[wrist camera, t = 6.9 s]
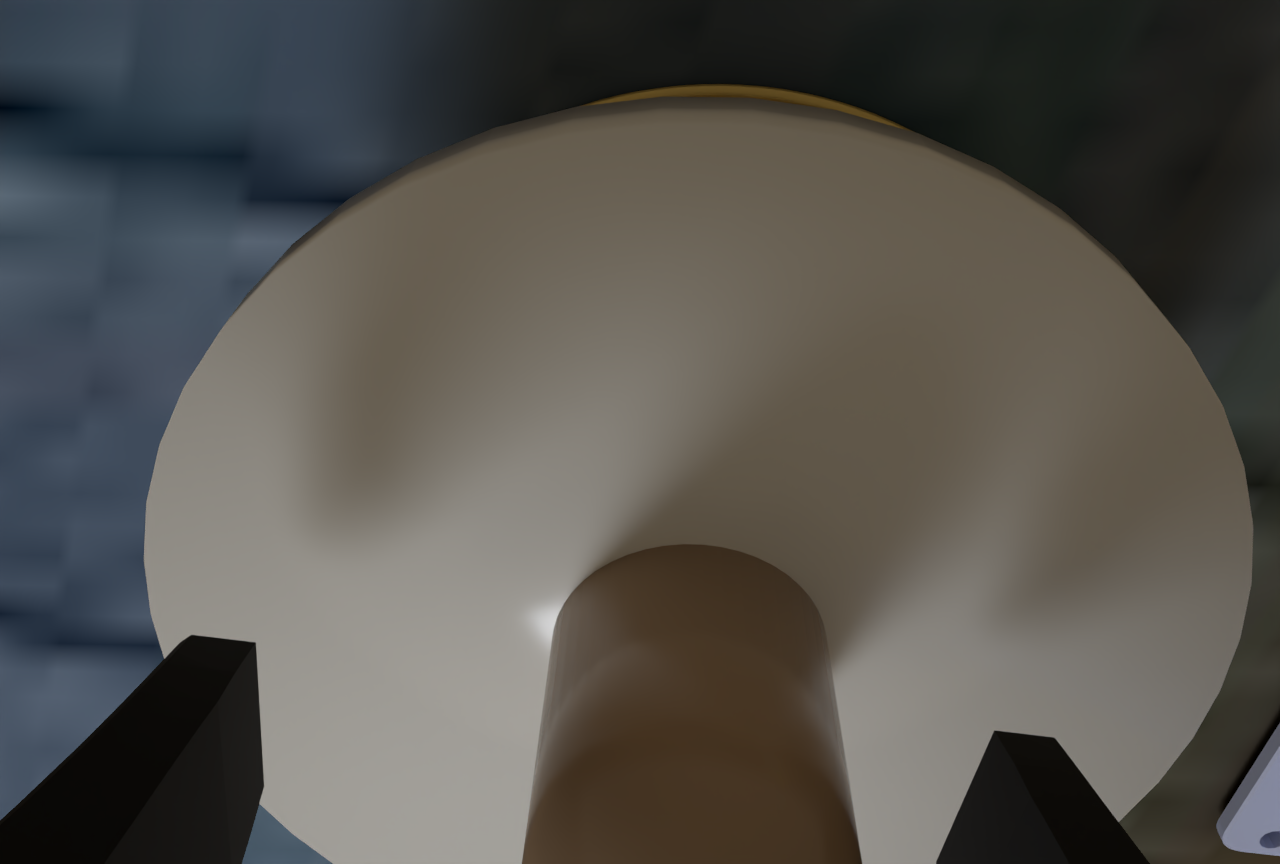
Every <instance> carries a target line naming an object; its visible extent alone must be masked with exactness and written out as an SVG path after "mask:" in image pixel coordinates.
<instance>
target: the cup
mask: <svg viewBox="0 0 1280 864" xmlns="http://www.w3.org/2000/svg"><path fill="white" fill-rule="evenodd" d="M655 97H737V98H756V99H763V100H770V101H777V102H784V103H791V104H798V105H805V106H811V107H818V108H825V109H832V110H838V111H841V112H845V113H848V114H852V115H855V116H859V117H862V118H866V119H870V120H873V121H877V122H880V123H884V124H887V125H891V126H894V127H898V128H901V129H905V130H908V131H911V130H909V129H907V128H905V127H903V126H901V125H899V124H897V123H895V122H893V121H891V120H888V119H886V118H884V117H881V116H879V115H877V114H874V113H872V112H869V111H866V110H864V109H861V108H858V107H855V106H852V105H849V104H846V103H843V102H839V101H836V100H832V99H829V98H825V97H821V96H817V95H812V94H808V93H803V92H798V91H792V90H786V89H780V88H773V87H764V86H753V85H738V84H696V85H681V86H670V87H662V88H654V89H648V90H642V91H636V92H631V93H626V94H622V95H617V96H613V97H609V98H605V99H601V100H598V101H594V102H591V103H588V104H585V105H581V106H587V105H596V104H604V103H612V102H621V101H629V100H638V99H646V98H655ZM578 107H579V106H578ZM912 132H913V131H912Z"/></svg>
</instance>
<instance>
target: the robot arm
mask: <svg viewBox="0 0 1280 864" xmlns="http://www.w3.org/2000/svg"><path fill="white" fill-rule="evenodd" d="M263 789H264V775H263V758H262V740H261V723H260V705H259V688H258V670H257V653H256V642H248V641H240V640H231V639H223V638H215V637H206V636H198V635H190V636H189V637H187V638H186V639H184V640H183V641H181V642H180V643H179V644H178V645H177V646H176V647H175V648H174V649H173V650H172V651H171V652H170V653H169V655H168V656H167V657H166V658H165V659H164V660H163V661H162V662H161V663H160V664H159V665H158V666H157V667H156V668H155V669H154V670H153V671H152V673H151V674H150V675H149V676H148V677H147V678H146V679H145V680H144V681H143V682H142V683H141V684H140V685H139V686H138V687H137V688H136V689H135V690H134V691H133V692H132V693H131V694H130V695H129V696H128V698H127V699H126V700H125V701H124V702H123V703H122V704H121V705H120V706H119V707H118V708H117V709H116V710H115V711H114V712H113V713H112V714H111V715H110V716H109V717H108V718H107V719H106V720H105V721H104V722H103V723H102V724H101V725H100V726H99V727H98V728H97V729H96V730H95V731H94V732H93V733H92V734H91V735H90V736H89V737H88V738H87V739H86V740H85V741H84V742H83V743H82V744H81V745H80V746H79V747H78V748H77V749H76V750H75V751H74V752H73V753H71V754H70V755H69V756H68V757H67V758H66V759H65V760H64V761H63V762H62V763H61V764H60V765H59V766H58V767H57V768H56V769H55V770H54V771H53V772H51V773H50V774H49V775H48V776H47V777H46V778H45V779H44V780H43V781H42V782H41V783H40V784H39V785H38V786H37V787H36V788H35V789H34V790H33V791H31V792H30V793H29V794H28V795H27V796H26V797H25V798H24V799H23V800H22V801H21V802H20V803H19V804H18V805H17V806H16V807H15V808H13V809H12V810H11V811H10V812H9V813H8V814H7V815H6V816H5V817H4V818H3V819H1V820H0V864H242V860H243V857H244V854H245V851H246V847H247V844H248V841H249V837H250V834H251V830H252V827H253V823H254V820H255V816H256V813H257V810H258V806H259V803H260V799H261V796H262V792H263ZM1216 827H1217V831H1218V833H1219V835H1220V837H1221V839H1222V841H1223V843H1224V845H1225V846H1227V847H1228V848H1229V849H1233V850H1236V851H1241V852H1249V853H1258V854H1267V855H1276V856H1280V723H1279V725H1278V726H1277V728H1276V729H1275V731H1274V733H1273V734H1272V736H1271V737H1270V739H1269V740H1268V742H1267V744H1266V745H1265V747H1264V748H1263V750H1262V751H1261V753H1260V755H1259V756H1258V758H1257V759H1256V761H1255V763H1254V764H1253V766H1252V767H1251V769H1250V770H1249V772H1248V774H1247V775H1246V777H1245V778H1244V780H1243V781H1242V783H1241V785H1240V786H1239V788H1238V789H1237V791H1236V792H1235V794H1234V796H1233V797H1232V799H1231V800H1230V802H1229V804H1228V805H1227V807H1226V808H1225V810H1224V811H1223V813H1222V815H1221V816H1220V818H1219V819H1218V822H1217V825H1216ZM936 864H1150V863H1149V862H1148V861H1147V859H1146V858H1145V857H1144V855H1143V854H1142V853H1141V851H1140V850H1139V849H1138V847H1137V846H1136V845H1135V844H1134V842H1133V841H1132V840H1131V838H1130V837H1129V836H1128V834H1127V833H1126V832H1125V830H1124V829H1123V828H1122V826H1121V825H1120V824H1119V822H1118V821H1117V820H1116V818H1115V817H1114V816H1113V814H1112V813H1111V812H1110V810H1109V809H1108V808H1107V806H1106V805H1105V804H1104V802H1103V801H1102V800H1101V798H1100V797H1099V796H1098V794H1097V793H1096V792H1095V790H1094V789H1093V788H1092V786H1091V785H1090V783H1089V782H1088V781H1087V779H1086V778H1085V777H1084V775H1083V774H1082V773H1081V771H1080V770H1079V769H1078V767H1077V766H1076V765H1075V763H1074V762H1073V761H1072V760H1071V758H1070V757H1069V756H1068V754H1067V753H1066V752H1065V750H1064V749H1063V748H1062V746H1061V745H1060V744H1059V743H1058V741H1057V740H1056V739H1055V738H1054V737H1046V736H1037V735H1029V734H1020V733H1012V732H1004V731H995V730H994V732H993V734H992V737H991V739H990V741H989V743H988V746H987V748H986V750H985V752H984V755H983V757H982V759H981V762H980V764H979V766H978V768H977V771H976V773H975V775H974V777H973V780H972V782H971V784H970V786H969V789H968V791H967V793H966V795H965V798H964V800H963V802H962V804H961V807H960V809H959V811H958V813H957V816H956V818H955V820H954V822H953V825H952V827H951V829H950V832H949V834H948V836H947V838H946V841H945V843H944V845H943V847H942V850H941V852H940V854H939V856H938V859H937V861H936Z"/></svg>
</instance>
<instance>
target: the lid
mask: <svg viewBox="0 0 1280 864" xmlns="http://www.w3.org/2000/svg"><path fill="white" fill-rule="evenodd" d="M1252 550H1253V521H1252V514H1251V508H1250V502H1249V495H1248V489H1247V482H1246V476H1245V469H1244V465H1243V462H1242V459H1241V456H1240V453H1239V450H1238V448H1237V445H1236V442H1235V439H1234V436H1233V433H1232V431H1231V428H1230V425H1229V422H1228V419H1227V416H1226V413H1225V411H1224V408H1223V405H1222V404H1221V402H1220V400H1219V398H1218V397H1217V395H1216V393H1215V391H1214V390H1213V388H1212V386H1211V384H1210V383H1209V381H1208V379H1207V377H1206V376H1205V374H1204V372H1203V370H1202V369H1201V367H1200V365H1199V363H1198V362H1197V360H1196V358H1195V356H1194V355H1193V353H1192V351H1191V349H1190V348H1189V346H1188V345H1187V344H1186V343H1185V341H1184V340H1183V339H1182V338H1181V336H1180V335H1179V334H1178V332H1177V331H1176V330H1175V329H1174V327H1173V326H1172V325H1171V324H1170V322H1169V321H1168V320H1167V318H1166V317H1165V316H1164V315H1163V313H1162V312H1161V311H1160V310H1159V308H1158V307H1157V306H1156V305H1155V304H1154V302H1153V301H1152V300H1151V299H1150V298H1149V296H1148V295H1147V294H1146V293H1145V292H1144V290H1143V289H1142V288H1141V287H1140V285H1139V284H1138V283H1137V282H1136V281H1135V279H1134V278H1133V277H1132V276H1131V275H1130V273H1129V272H1128V271H1127V270H1126V269H1125V267H1124V266H1123V265H1122V264H1121V263H1120V261H1119V260H1118V259H1117V258H1116V257H1115V256H1114V255H1113V254H1112V253H1111V252H1110V251H1108V250H1107V249H1106V248H1105V247H1104V246H1103V245H1102V244H1100V243H1099V242H1098V241H1097V240H1096V239H1095V238H1093V237H1092V236H1091V235H1090V234H1089V233H1088V232H1087V231H1085V230H1084V229H1083V228H1082V227H1081V226H1080V225H1079V224H1077V223H1076V222H1075V221H1074V220H1073V219H1072V218H1070V217H1069V216H1068V215H1067V214H1066V213H1065V212H1064V211H1062V210H1061V209H1060V208H1059V207H1057V206H1055V205H1054V204H1052V203H1051V202H1049V201H1047V200H1046V199H1044V198H1043V197H1041V196H1039V195H1038V194H1036V193H1035V192H1033V191H1032V190H1030V189H1028V188H1027V187H1025V186H1024V185H1022V184H1020V183H1019V182H1017V181H1016V180H1014V179H1013V178H1011V177H1009V176H1008V175H1006V174H1005V173H1003V172H1001V171H1000V170H998V169H997V168H995V167H993V166H991V165H989V164H986V163H984V162H982V161H980V160H977V159H975V158H973V157H971V156H968V155H966V154H964V153H962V152H959V151H957V150H955V149H953V148H950V147H948V146H946V145H944V144H941V143H939V142H937V141H935V140H932V139H930V138H928V137H925V136H923V135H921V134H919V133H915V132H912V131H908V130H905V129H901V128H898V127H894V126H891V125H887V124H884V123H880V122H877V121H873V120H870V119H866V118H862V117H859V116H855V115H852V114H848V113H845V112H841V111H838V110H832V109H825V108H818V107H811V106H805V105H798V104H791V103H784V102H777V101H770V100H763V99H756V98H737V97H655V98H646V99H638V100H629V101H621V102H612V103H604V104H596V105H587V106H579V107H573V108H569V109H565V110H562V111H558V112H554V113H550V114H546V115H542V116H538V117H534V118H530V119H526V120H523V121H519V122H515V123H511V124H507V125H503V126H499V127H495V128H492V129H490V130H487V131H485V132H482V133H480V134H477V135H475V136H472V137H470V138H467V139H465V140H463V141H460V142H458V143H455V144H453V145H450V146H448V147H445V148H443V149H440V150H438V151H436V152H433V153H431V154H428V155H426V156H423V157H421V158H418V159H416V160H415V161H413V162H411V163H409V164H408V165H406V166H404V167H403V168H401V169H399V170H397V171H396V172H394V173H392V174H391V175H389V176H387V177H385V178H384V179H382V180H380V181H379V182H377V183H375V184H373V185H372V186H370V187H368V188H367V189H365V190H363V191H361V192H360V193H358V194H356V195H355V196H353V197H351V198H350V199H348V200H347V201H346V202H345V203H343V204H342V205H341V206H340V207H338V208H337V209H336V210H335V211H333V212H332V213H331V214H330V215H328V216H327V217H326V218H325V219H323V220H322V221H321V222H320V223H318V224H317V225H316V226H315V227H313V228H312V229H311V230H310V231H308V232H307V233H306V234H305V235H303V236H302V237H301V238H300V239H299V240H297V241H296V242H295V243H294V244H292V245H291V247H290V248H289V249H288V250H287V251H286V252H285V253H284V254H283V255H282V256H281V258H280V259H279V260H278V261H277V262H276V263H275V264H274V265H273V266H272V267H271V269H270V270H269V271H268V272H267V273H266V274H265V275H264V276H263V277H262V278H261V280H260V281H259V282H258V283H257V284H256V285H255V286H254V287H253V288H252V289H251V290H250V292H249V293H248V294H247V295H246V296H245V298H244V299H243V300H242V302H241V303H240V304H239V306H238V307H237V309H236V310H235V311H234V313H233V314H232V315H231V317H230V318H229V320H228V321H227V322H226V324H225V325H224V326H223V328H222V329H221V331H220V332H219V334H218V335H217V337H216V338H215V340H214V341H213V343H212V345H211V346H210V348H209V349H208V351H207V352H206V354H205V355H204V357H203V358H202V360H201V362H200V363H199V365H198V366H197V368H196V369H195V371H194V372H193V374H192V375H191V377H190V379H189V380H188V382H187V383H186V385H185V386H184V388H183V390H182V393H181V395H180V398H179V400H178V402H177V405H176V407H175V409H174V412H173V414H172V416H171V419H170V421H169V424H168V426H167V428H166V431H165V433H164V435H163V438H162V440H161V442H160V445H159V449H158V454H157V458H156V462H155V467H154V471H153V476H152V480H151V484H150V489H149V493H148V498H147V502H146V522H145V544H144V565H145V573H146V580H147V588H148V596H149V604H150V611H151V616H152V620H153V623H154V626H155V630H156V633H157V636H158V639H159V643H160V646H161V649H162V653H163V656H164V659H165V658H166V657H167V656H168V655H169V653H170V652H171V651H172V650H173V649H174V648H175V647H176V646H177V645H178V644H179V643H180V642H181V641H183V640H184V639H186V638H187V637H189V636H190V635H198V636H206V637H215V638H223V639H231V640H240V641H248V642H256V653H257V670H258V688H259V705H260V723H261V740H262V758H263V775H264V789H263V792H262V796H261V799H260V803H259V804H260V805H261V806H263V807H264V808H265V809H266V810H267V811H268V812H269V813H270V814H271V815H272V816H274V817H275V818H276V819H277V820H278V821H279V822H280V823H281V824H282V825H283V826H285V827H286V828H287V829H288V830H289V831H290V832H291V833H292V834H293V835H295V836H296V837H297V838H299V839H300V840H302V841H303V842H304V843H306V844H307V845H308V846H310V847H311V848H312V849H314V850H315V851H317V852H318V853H319V854H321V855H322V856H323V857H325V858H326V859H328V860H329V861H330V862H332V863H333V864H936V861H937V859H938V856H939V854H940V852H941V850H942V847H943V845H944V843H945V841H946V838H947V836H948V834H949V832H950V829H951V827H952V825H953V822H954V820H955V818H956V816H957V813H958V811H959V809H960V807H961V804H962V802H963V800H964V798H965V795H966V793H967V791H968V789H969V786H970V784H971V782H972V780H973V777H974V775H975V773H976V771H977V768H978V766H979V764H980V762H981V759H982V757H983V755H984V752H985V750H986V748H987V746H988V743H989V741H990V739H991V737H992V734H993V732H994V730H995V731H1004V732H1012V733H1020V734H1029V735H1037V736H1046V737H1054V738H1055V739H1056V740H1057V741H1058V743H1059V744H1060V745H1061V746H1062V748H1063V749H1064V750H1065V752H1066V753H1067V754H1068V756H1069V757H1070V758H1071V760H1072V761H1073V762H1074V763H1075V765H1076V766H1077V767H1078V769H1079V770H1080V771H1081V773H1082V774H1083V775H1084V777H1085V778H1086V779H1087V781H1088V782H1089V783H1090V785H1091V786H1092V788H1093V789H1094V790H1095V792H1096V793H1097V794H1098V796H1099V797H1100V798H1101V800H1102V801H1103V802H1104V804H1105V805H1106V806H1107V808H1108V809H1109V810H1110V812H1111V813H1112V814H1113V816H1114V817H1115V818H1116V820H1117V821H1118V822H1119V821H1120V820H1121V819H1122V818H1123V817H1124V816H1125V815H1126V814H1127V813H1128V812H1129V811H1130V810H1131V809H1132V808H1133V807H1134V806H1135V805H1136V804H1137V803H1138V802H1139V801H1140V800H1141V799H1142V798H1143V797H1144V796H1145V795H1146V794H1147V793H1148V792H1149V791H1150V790H1151V789H1152V788H1153V787H1154V786H1155V785H1156V784H1157V783H1158V782H1159V781H1160V780H1161V778H1162V777H1163V776H1164V775H1165V773H1166V772H1167V771H1168V769H1169V768H1170V767H1171V766H1172V764H1173V763H1174V762H1175V760H1176V759H1177V758H1178V757H1179V755H1180V754H1181V753H1182V751H1183V750H1184V749H1185V748H1186V746H1187V745H1188V744H1189V742H1190V741H1191V740H1192V739H1193V737H1194V735H1195V733H1196V732H1197V730H1198V728H1199V726H1200V725H1201V723H1202V721H1203V719H1204V718H1205V716H1206V714H1207V712H1208V711H1209V709H1210V707H1211V705H1212V704H1213V702H1214V700H1215V698H1216V697H1217V695H1218V693H1219V692H1220V689H1221V687H1222V684H1223V682H1224V679H1225V676H1226V674H1227V671H1228V669H1229V666H1230V664H1231V661H1232V658H1233V656H1234V653H1235V651H1236V648H1237V645H1238V643H1239V640H1240V637H1241V632H1242V627H1243V622H1244V618H1245V613H1246V608H1247V603H1248V598H1249V593H1250V588H1251V584H1252Z"/></svg>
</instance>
